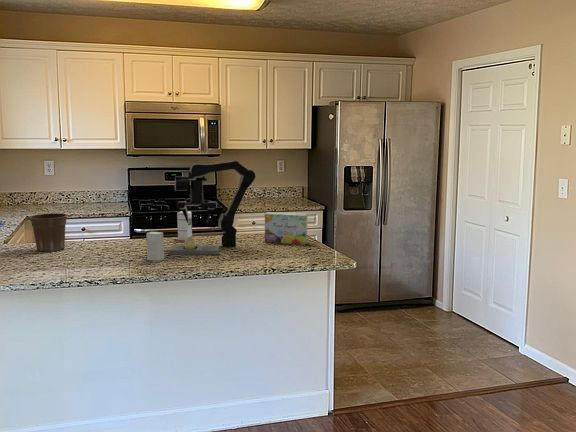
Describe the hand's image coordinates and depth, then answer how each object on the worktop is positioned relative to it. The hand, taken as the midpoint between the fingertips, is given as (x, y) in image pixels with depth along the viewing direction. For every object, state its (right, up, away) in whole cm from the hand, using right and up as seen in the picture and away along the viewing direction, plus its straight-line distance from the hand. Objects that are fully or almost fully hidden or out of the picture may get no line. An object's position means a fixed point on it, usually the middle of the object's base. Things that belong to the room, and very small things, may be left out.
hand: (197, 222), depth 273 cm
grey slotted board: (0, -14, -9) cm, 16 cm away
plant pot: (-68, -13, -6) cm, 69 cm away
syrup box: (-10, -9, +21) cm, 25 cm away
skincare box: (-14, -16, -25) cm, 33 cm away
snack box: (+43, -11, +15) cm, 46 cm away
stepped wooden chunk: (-2, -14, -9) cm, 16 cm away
